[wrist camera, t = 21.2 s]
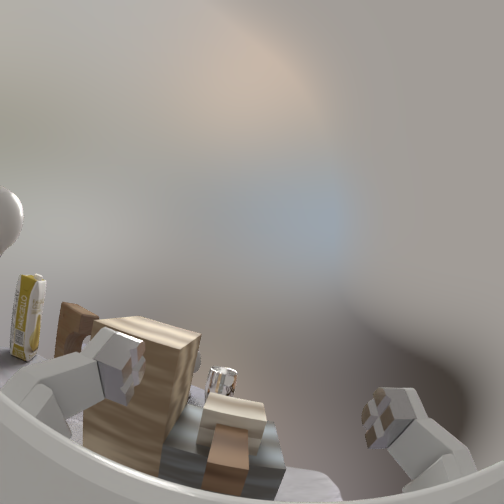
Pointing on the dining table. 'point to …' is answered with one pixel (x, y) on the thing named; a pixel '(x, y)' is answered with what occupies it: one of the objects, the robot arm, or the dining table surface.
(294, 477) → the dining table surface
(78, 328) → the decorative block
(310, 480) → the dining table surface
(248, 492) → the step stand
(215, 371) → the beer glass
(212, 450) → the brown rectangular block
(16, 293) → the juice carton
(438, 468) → the robot arm
